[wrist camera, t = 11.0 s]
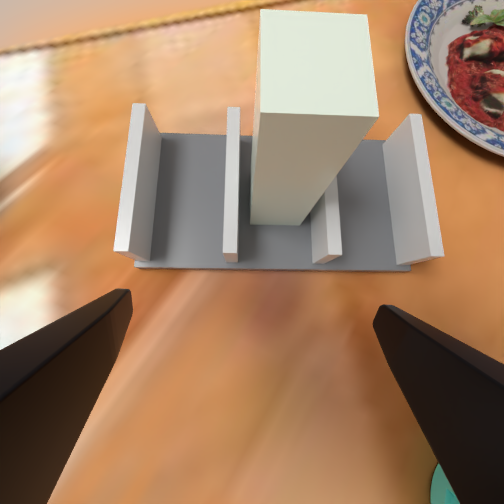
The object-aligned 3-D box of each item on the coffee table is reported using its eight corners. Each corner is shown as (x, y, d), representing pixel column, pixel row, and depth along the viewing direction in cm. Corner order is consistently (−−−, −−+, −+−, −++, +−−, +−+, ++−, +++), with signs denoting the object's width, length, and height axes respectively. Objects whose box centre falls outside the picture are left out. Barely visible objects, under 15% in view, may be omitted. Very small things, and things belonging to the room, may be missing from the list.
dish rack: (403, 272, 22) (448, 263, 18) (139, 268, 22) (108, 258, 17) (388, 147, 25) (423, 109, 20) (152, 139, 24) (130, 97, 19)
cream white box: (297, 174, 23) (367, 14, 10) (299, 225, 22) (379, 116, 9) (250, 173, 23) (260, 8, 10) (249, 224, 22) (260, 112, 9)
